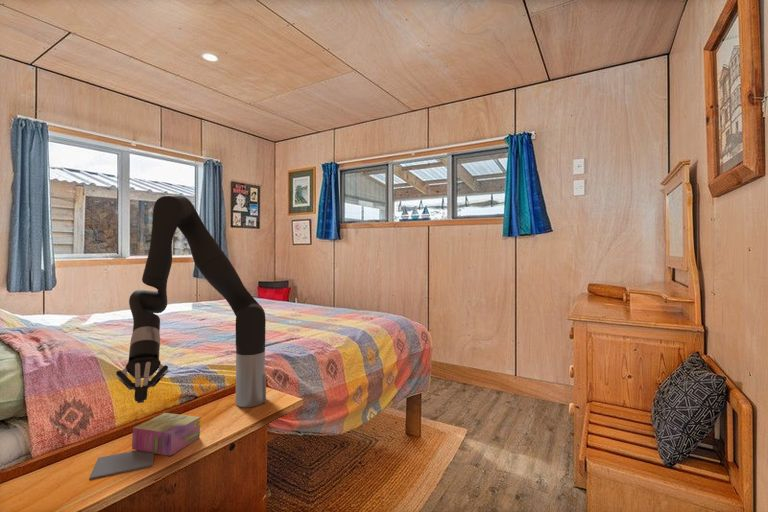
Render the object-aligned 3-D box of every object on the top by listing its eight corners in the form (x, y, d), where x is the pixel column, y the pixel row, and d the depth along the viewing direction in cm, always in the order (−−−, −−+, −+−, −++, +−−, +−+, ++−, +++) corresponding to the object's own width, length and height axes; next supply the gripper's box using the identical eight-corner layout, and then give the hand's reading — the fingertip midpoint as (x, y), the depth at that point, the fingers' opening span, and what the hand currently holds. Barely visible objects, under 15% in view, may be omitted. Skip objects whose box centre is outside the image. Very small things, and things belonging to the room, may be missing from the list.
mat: (155, 447, 97) (155, 446, 97) (152, 466, 89) (152, 464, 89) (98, 459, 91) (98, 457, 91) (89, 479, 83) (89, 478, 83)
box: (131, 450, 95) (170, 456, 92) (132, 427, 95) (171, 432, 93) (163, 433, 105) (200, 437, 102) (164, 412, 105) (200, 416, 103)
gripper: (116, 341, 106) (108, 399, 95) (170, 336, 112) (168, 391, 102) (119, 354, 111) (112, 412, 100) (170, 349, 117) (169, 403, 106)
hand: (140, 401), depth 101 cm, fingers closed
